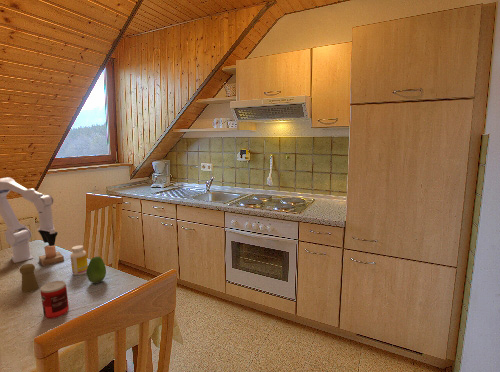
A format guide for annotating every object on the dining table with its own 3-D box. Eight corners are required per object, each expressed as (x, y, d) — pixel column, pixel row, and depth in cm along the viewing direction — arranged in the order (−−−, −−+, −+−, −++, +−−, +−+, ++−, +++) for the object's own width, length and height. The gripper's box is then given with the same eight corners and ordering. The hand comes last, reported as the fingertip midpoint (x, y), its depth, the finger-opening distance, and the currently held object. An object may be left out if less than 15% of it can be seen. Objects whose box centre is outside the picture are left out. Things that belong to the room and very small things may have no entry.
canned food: (51, 307, 113) (47, 280, 111) (73, 306, 114) (69, 279, 112) (39, 319, 106) (35, 291, 104) (62, 318, 106) (58, 290, 104)
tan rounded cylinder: (44, 256, 154) (43, 246, 153) (54, 253, 157) (53, 243, 156) (47, 258, 151) (46, 248, 150) (57, 255, 154) (56, 246, 153)
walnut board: (39, 261, 154) (38, 256, 154) (59, 255, 161) (58, 251, 160) (43, 266, 148) (43, 261, 148) (64, 260, 155) (63, 256, 154)
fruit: (111, 279, 134) (108, 255, 132) (95, 288, 127) (92, 262, 125) (99, 276, 137) (96, 252, 135) (83, 284, 130) (80, 258, 128)
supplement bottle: (91, 269, 144) (88, 244, 142) (82, 275, 138) (79, 250, 136) (78, 268, 145) (75, 244, 143) (69, 275, 139) (66, 249, 136)
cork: (42, 286, 128) (38, 263, 126) (28, 293, 123) (24, 269, 121) (32, 284, 130) (29, 261, 128) (18, 291, 125) (14, 267, 123)
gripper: (32, 218, 152) (35, 242, 154) (41, 223, 143) (45, 249, 145) (47, 215, 157) (50, 239, 160) (58, 220, 148) (61, 245, 151)
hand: (49, 244), depth 153 cm, fingers open, 7 cm apart
